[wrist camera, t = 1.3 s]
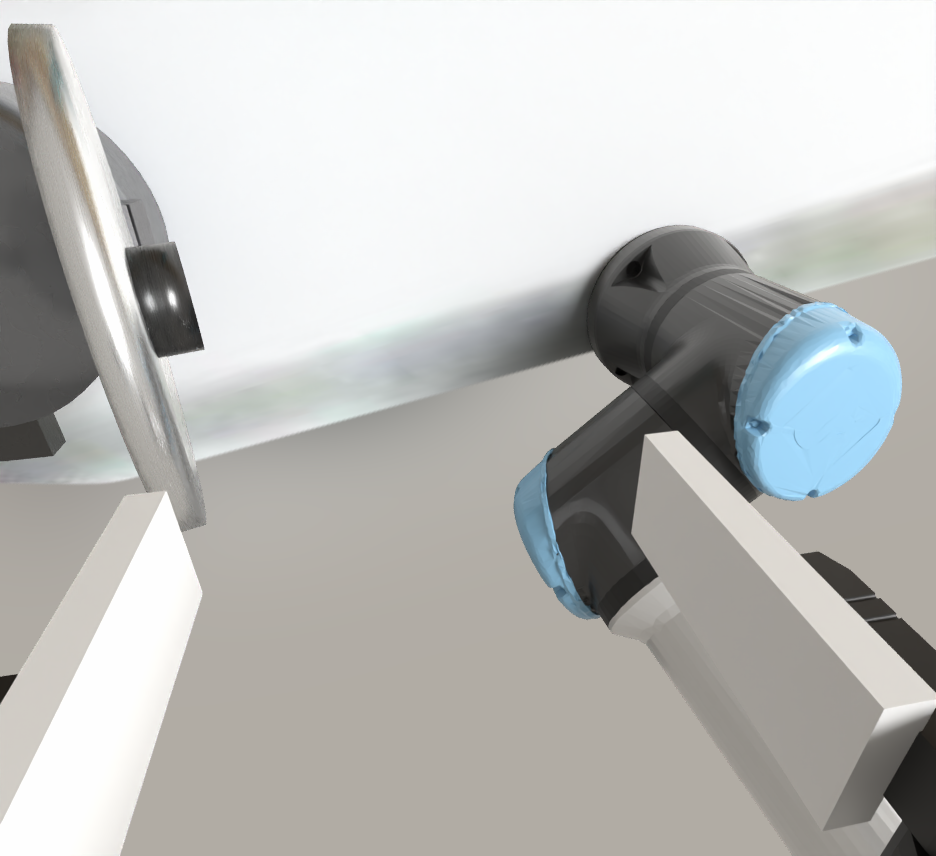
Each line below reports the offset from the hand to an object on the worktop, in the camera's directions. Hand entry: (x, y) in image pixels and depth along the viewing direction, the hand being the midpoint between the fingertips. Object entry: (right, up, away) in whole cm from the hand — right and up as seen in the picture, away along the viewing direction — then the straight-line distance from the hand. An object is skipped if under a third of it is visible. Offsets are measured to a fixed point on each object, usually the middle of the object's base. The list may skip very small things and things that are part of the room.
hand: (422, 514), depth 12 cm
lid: (-15, +7, +14) cm, 22 cm away
